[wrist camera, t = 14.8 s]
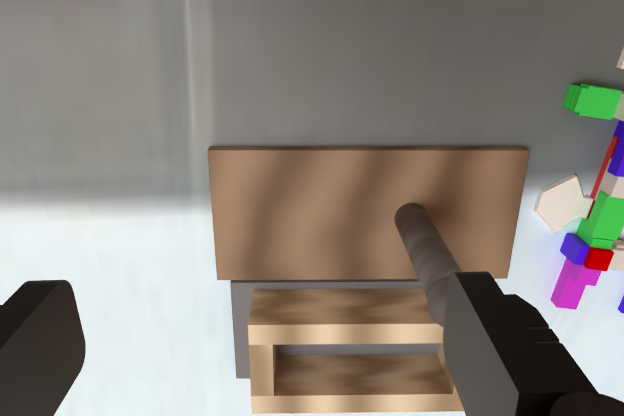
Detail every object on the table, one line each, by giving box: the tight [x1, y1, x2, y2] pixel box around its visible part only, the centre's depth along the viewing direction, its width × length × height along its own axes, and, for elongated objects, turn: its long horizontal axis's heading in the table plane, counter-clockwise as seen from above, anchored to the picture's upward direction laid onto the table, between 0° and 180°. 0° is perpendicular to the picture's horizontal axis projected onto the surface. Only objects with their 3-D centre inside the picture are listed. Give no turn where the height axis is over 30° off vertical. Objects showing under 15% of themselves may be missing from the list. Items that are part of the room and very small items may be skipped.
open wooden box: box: [248, 289, 464, 414], centre depth 42 cm, size 18×9×5 cm, turn 89°
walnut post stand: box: [208, 147, 530, 327], centre depth 34 cm, size 24×11×14 cm, turn 90°
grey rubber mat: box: [231, 279, 439, 378], centre depth 45 cm, size 22×10×1 cm, turn 90°
